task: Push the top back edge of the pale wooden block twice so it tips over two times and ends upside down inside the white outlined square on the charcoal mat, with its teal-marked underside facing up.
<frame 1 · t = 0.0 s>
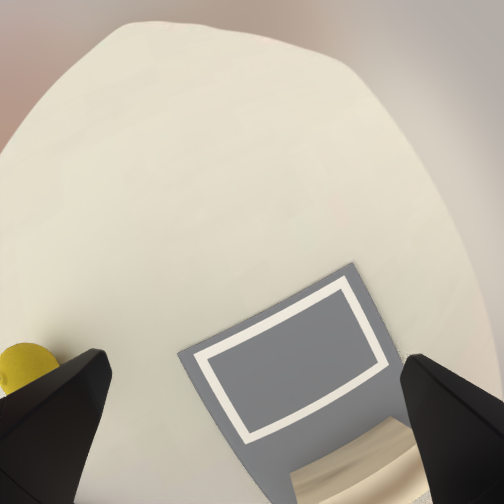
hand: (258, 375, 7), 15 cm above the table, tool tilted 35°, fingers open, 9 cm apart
block: (353, 467, 18), resting on mat
mat: (327, 421, 20), on the table
lemon: (56, 369, 21), on the table
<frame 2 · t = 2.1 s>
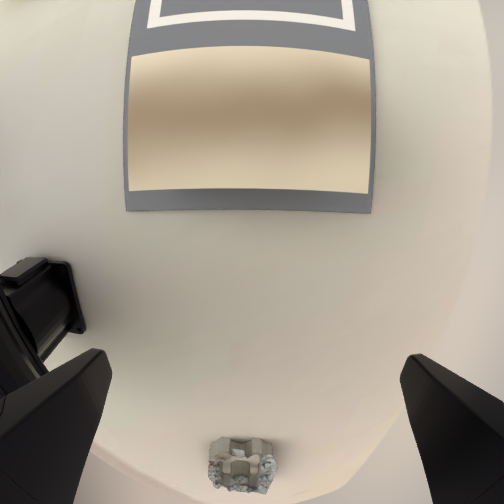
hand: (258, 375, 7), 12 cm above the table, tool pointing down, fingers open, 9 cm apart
block: (249, 127, 16), resting on mat
egg carton: (241, 455, 28), on the table
mat: (250, 41, 14), on the table
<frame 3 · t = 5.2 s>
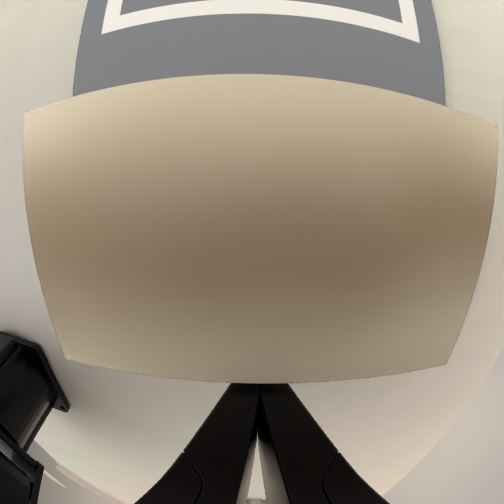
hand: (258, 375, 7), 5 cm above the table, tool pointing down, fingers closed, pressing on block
block: (259, 199, 10), resting on mat, touching gripper
mat: (261, 49, 9), on the table
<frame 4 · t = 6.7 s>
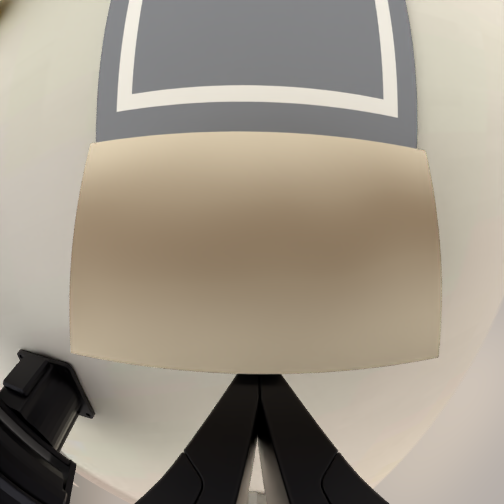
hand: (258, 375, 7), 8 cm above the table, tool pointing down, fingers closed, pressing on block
block: (255, 267, 13), point 2 cm above the table, tilted 28°, touching gripper, mat
egg carton: (237, 499, 26), on the table
mat: (257, 136, 12), on the table
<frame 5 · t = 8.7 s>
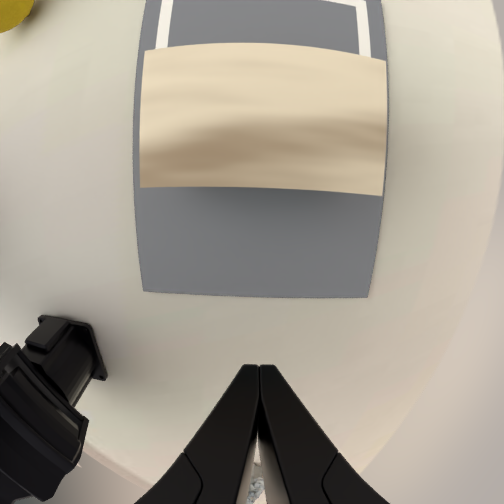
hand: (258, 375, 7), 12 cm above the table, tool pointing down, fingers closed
block: (261, 180, 14), point 3 cm above the table, tilted 90°, touching mat
egg carton: (233, 473, 30), on the table
mat: (261, 126, 16), on the table
lemon: (29, 14, 11), on the table
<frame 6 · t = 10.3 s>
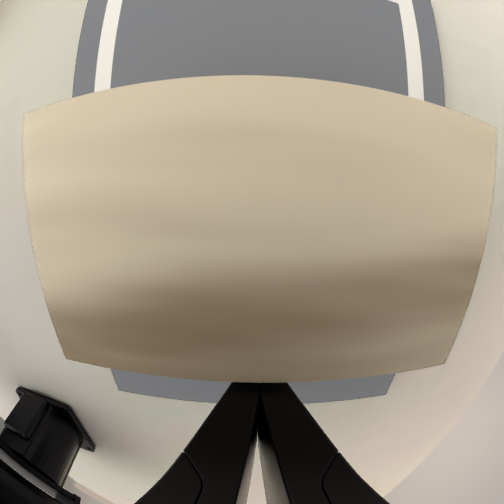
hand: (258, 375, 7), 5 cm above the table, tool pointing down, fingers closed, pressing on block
block: (257, 313, 9), point 3 cm above the table, tilted 90°, touching gripper, mat
mat: (258, 197, 11), on the table
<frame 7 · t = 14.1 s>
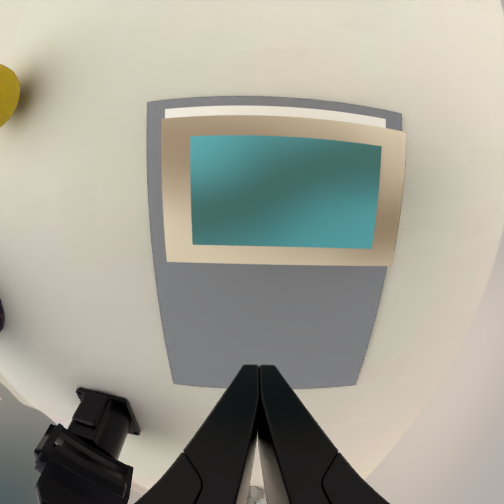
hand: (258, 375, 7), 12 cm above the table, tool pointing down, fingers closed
block: (288, 192, 11), point 6 cm above the table, tilted 180°, touching mat
egg carton: (237, 492, 33), on the table
mat: (272, 269, 19), on the table
lemon: (18, 100, 15), on the table
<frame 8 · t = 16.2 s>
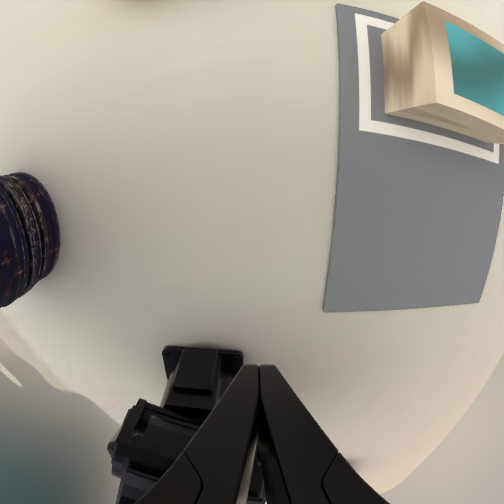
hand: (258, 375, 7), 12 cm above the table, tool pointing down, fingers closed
block: (496, 78, 9), point 6 cm above the table, tilted 180°, touching mat
mat: (438, 168, 17), on the table
storage jar: (23, 227, 19), on the table
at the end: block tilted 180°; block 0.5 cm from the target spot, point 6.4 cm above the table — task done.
